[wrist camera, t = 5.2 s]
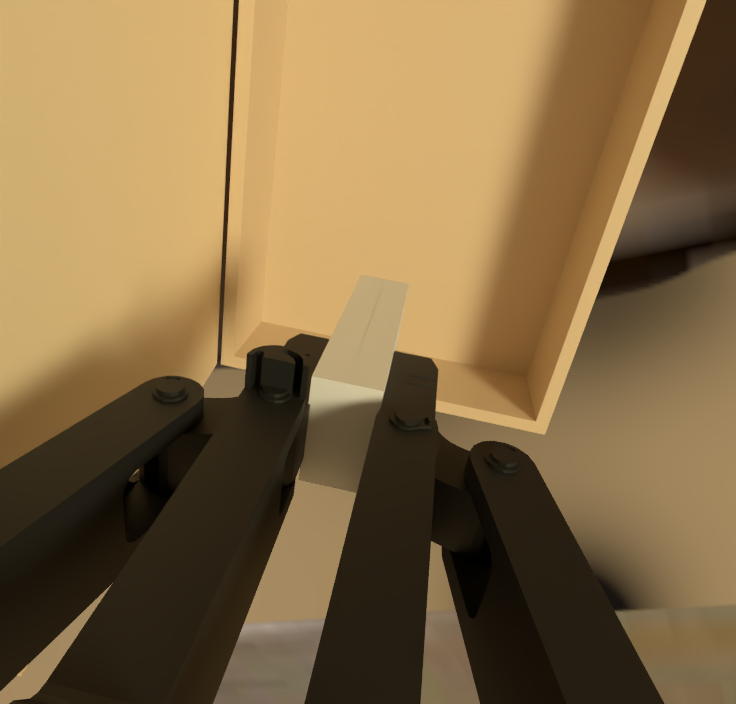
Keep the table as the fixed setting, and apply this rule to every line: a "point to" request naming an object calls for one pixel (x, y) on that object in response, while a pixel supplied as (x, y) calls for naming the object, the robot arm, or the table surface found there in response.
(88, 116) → the lid
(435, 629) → the table surface
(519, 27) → the box
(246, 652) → the table surface
